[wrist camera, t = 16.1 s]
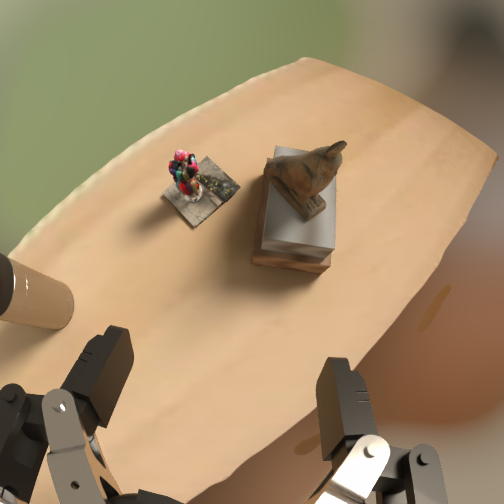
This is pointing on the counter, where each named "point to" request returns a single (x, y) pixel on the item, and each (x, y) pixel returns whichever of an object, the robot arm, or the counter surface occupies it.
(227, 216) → the counter surface
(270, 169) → the brown carved statuette
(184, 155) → the statue
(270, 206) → the grey and brown block
